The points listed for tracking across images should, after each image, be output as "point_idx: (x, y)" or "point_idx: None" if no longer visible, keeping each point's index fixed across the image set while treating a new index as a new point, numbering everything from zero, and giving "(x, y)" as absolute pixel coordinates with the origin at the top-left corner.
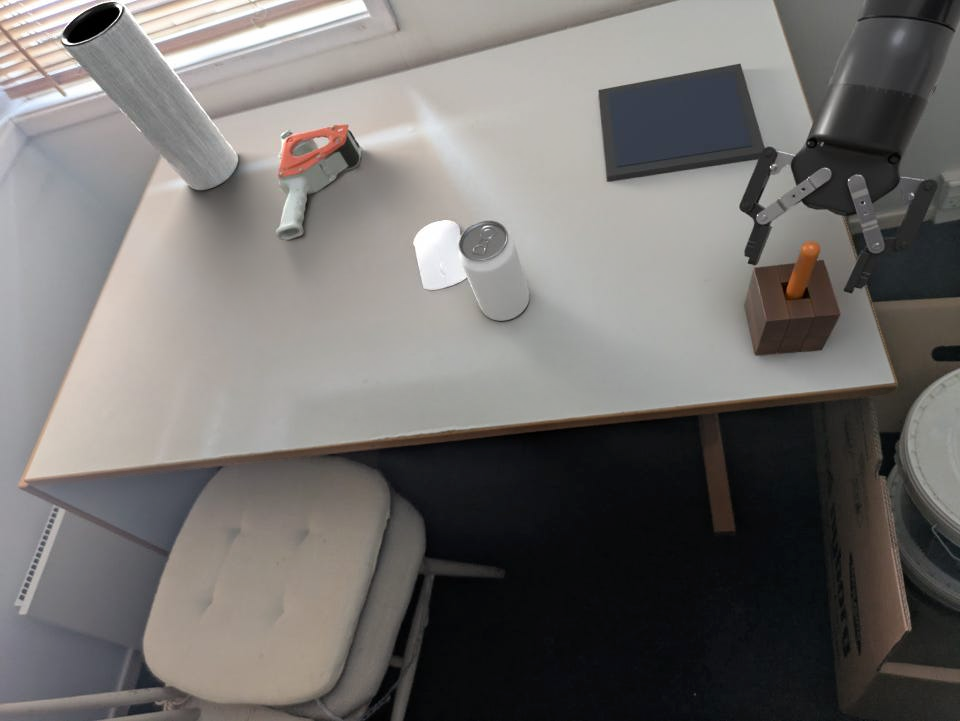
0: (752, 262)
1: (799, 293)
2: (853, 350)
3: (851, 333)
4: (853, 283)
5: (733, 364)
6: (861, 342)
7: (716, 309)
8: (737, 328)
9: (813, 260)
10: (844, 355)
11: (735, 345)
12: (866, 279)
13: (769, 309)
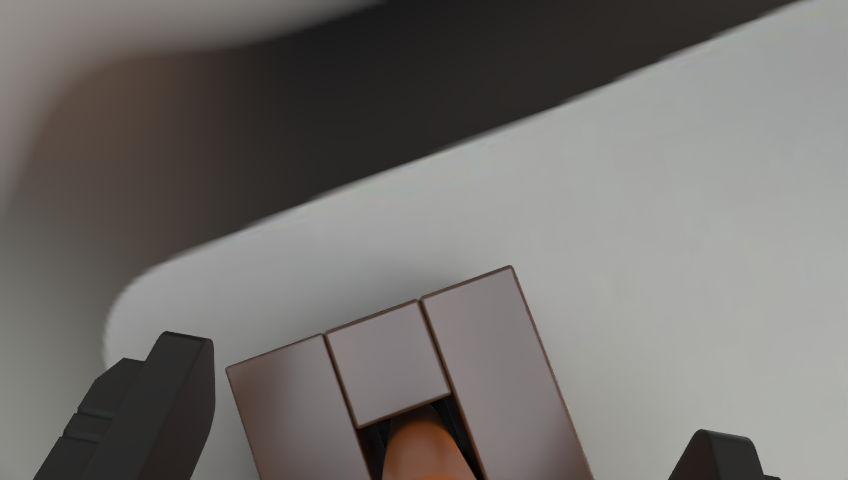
0: (724, 436)
1: (406, 430)
2: None
3: None
4: (160, 364)
5: (538, 240)
6: None
7: (642, 453)
8: None
9: (401, 474)
10: None
11: (547, 315)
12: (90, 405)
13: (511, 328)
